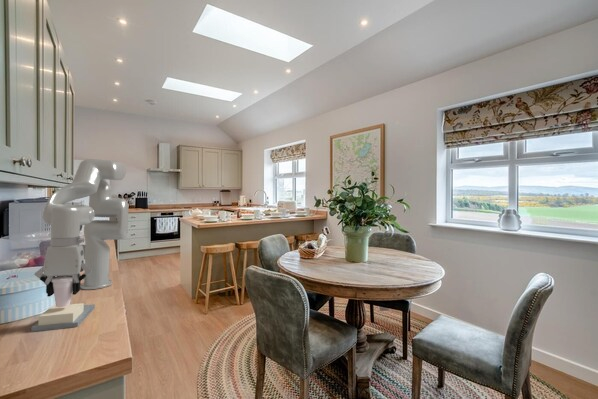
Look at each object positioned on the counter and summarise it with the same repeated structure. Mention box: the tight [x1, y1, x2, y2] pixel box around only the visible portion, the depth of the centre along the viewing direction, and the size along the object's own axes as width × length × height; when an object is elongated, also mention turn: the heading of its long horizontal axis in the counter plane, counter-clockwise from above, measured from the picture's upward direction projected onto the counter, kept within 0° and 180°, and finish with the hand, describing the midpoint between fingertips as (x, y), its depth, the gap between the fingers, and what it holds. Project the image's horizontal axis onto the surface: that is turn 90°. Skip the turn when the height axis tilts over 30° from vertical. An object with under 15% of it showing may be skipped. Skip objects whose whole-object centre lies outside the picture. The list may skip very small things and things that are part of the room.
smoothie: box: [51, 275, 74, 307], centre depth 93 cm, size 6×6×14 cm
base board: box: [30, 302, 96, 333], centre depth 95 cm, size 16×12×4 cm
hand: (63, 293), depth 93 cm, fingers closed on smoothie, 6 cm apart
